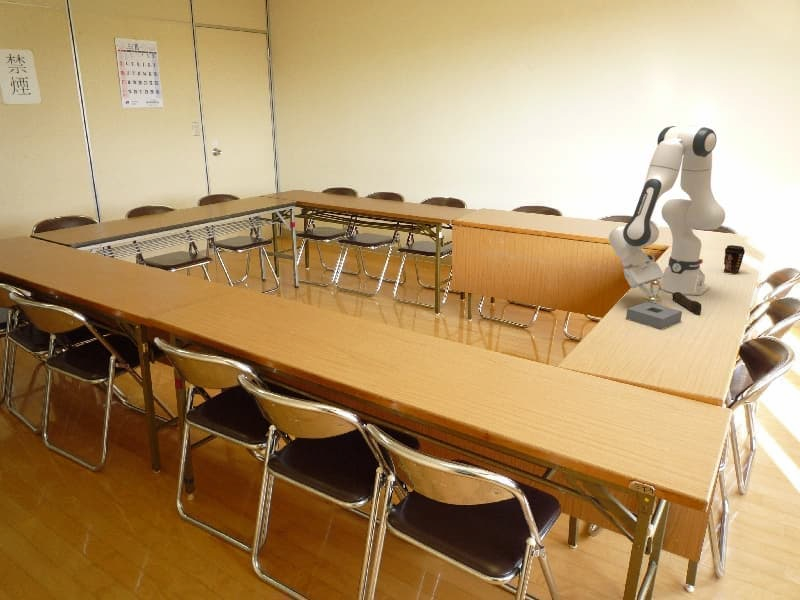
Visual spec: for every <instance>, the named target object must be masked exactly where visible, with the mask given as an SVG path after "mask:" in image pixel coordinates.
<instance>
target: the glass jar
mask: <svg viewBox="0 0 800 600" xmlns="http://www.w3.org/2000/svg"><path fill="white" fill-rule="evenodd" d="M660 282H661V280H660V281H657V280H651V283H650V287H649V289H650V290H651V291H652V293H651V294H649V295H646V294H645V300H647V302H650V303H654V304H657V302H660V301H661V297H660V296H658V293H659V291H658V289H659V284H660Z"/></svg>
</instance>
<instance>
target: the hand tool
mask: <svg viewBox="0 0 800 600" xmlns="http://www.w3.org/2000/svg"><path fill="white" fill-rule="evenodd" d="M674 300H675V301H674ZM672 301H674V302H677V303H678V304H681V306H683V307H686V308H687V310H688V312H690V313H692V314H694V315H697V316H700V315H701V313H702V303H700V302H699V301H697V300H692V299H690V298H688V297H687V296H685V294H682V293H680V292H675V293H672Z"/></svg>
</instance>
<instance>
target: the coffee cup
mask: <svg viewBox="0 0 800 600" xmlns="http://www.w3.org/2000/svg"><path fill="white" fill-rule="evenodd" d="M744 255H745V248H744V247H743V246H741V245H733V244H732V245H727V246H726V247H725V249H724V258H723V259H724V261H723V264H724V269H723V271H724V272H726V273H731V274H730V275H738V274H739V271H740V269H741V267H742V264H743V258H744ZM724 272H723V273H724ZM726 273H725V274H726ZM737 273H738V274H737Z"/></svg>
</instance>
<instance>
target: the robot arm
mask: <svg viewBox="0 0 800 600" xmlns="http://www.w3.org/2000/svg"><path fill="white" fill-rule="evenodd" d="M656 141H657V146H656V148H655V150H654V153H653V155H652V157H651V160H650V163H649V167H648V170H647V174H646V177H645V181H644V185H643V188H642V191H641V194H640V196H639V199H638V202H637V205H636V207H635V210H634V213H633V215H632V217H630V220H629V221H628V222H627V223H626V225H619V226H617V227H616V228H614V229H612V231H611V232H610V233H609V236H608V241H609V242H608V243H609V244H610V246H611V248H612V249H613V251H614V253H615V254H616V256H618V257H619V259H620V261H621V263H622V265H623V269H622V270H623V275H624V278H625V280H626V281H627V283H628V285H629V286H630V287H631V288H632V289H635V288H639V289H640V290H642V292H644V293H645V296H646V295H649V294H651V293H652V291H651V290H650V288H648V287H647V285H648V284H651V280H657V281H660V284H659V289H658V292H661V291H662V290H663V291H666V292H668V293H672V294H673V293H675V292H680V293H682V295H689V296H690V295H693V296H702V295H703V294H704V293H705V292H706V291H708V289H710V285H708V284H705V281H706V275H705V273H703V271H702V269H700V268H701V265H702V264H703V262H704V260H703V259H702V258H700V256H701V252H702V251H701V250H702V242H701V239H700V238H699V237H698V236H696V235H695V233H694V231H693V228H694V229H699V230H708V231H709V230H717V229H718V228H720V227H721V226H722V225H723V224H724V222H725V219H726V213H725V209H724V207H722V206H721V205H720V203H718V201H717V200H716V199H715V196H714V194H713V191H712V185H711V184H712V183H711V182H712V170H713V169H712V168H713V151H714V150H715V147H716V145H717V134H716V132H715V131H714V130H713V129H711V128H709V127H705V126H704V127H701V126H694V125H693V126H692V125H686V126H683V125H680V126H676V125H674V126H673V125H672V126H667V127H664V128H663V129H662V131H660V133H659V134H658V136H657V140H656ZM680 170H681V173H680ZM679 173H680V183H679V186H680V188H681V191H683V192H684V193H685V194H686V195H688V197H689V199H682V198H674V199H668V200H667V201H665V202H664V204H663V205H662V207H661V217H662V219H663V220H664V222H665V223H666V224H667V226H668V228H669V229H670V232H671V236H672V244H671V253H670V256H669V258H668V265H667V267H666V268H664V272H663V270H662V268H661V267H660V265H659V264H658V263H657V262H656V261H655V257H654V255H653V254H647V253H644V252H643V248H646V247H648V246H651V245H653V244H655V242H657V240H658V239H659V235H660V231H659V228H658V227H657V226H656V225H655V224H654V223H652V222H651V219H652V216H653V213H654V210H655V207H656V204H657V202H658V200H659V199H660V197H662V196H663V194H665V193H667V192H668V191H669V190H671V189H673V187H674V185H675V183H676V180H677V179H678V177H679ZM661 279H662V280H661Z"/></svg>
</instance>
